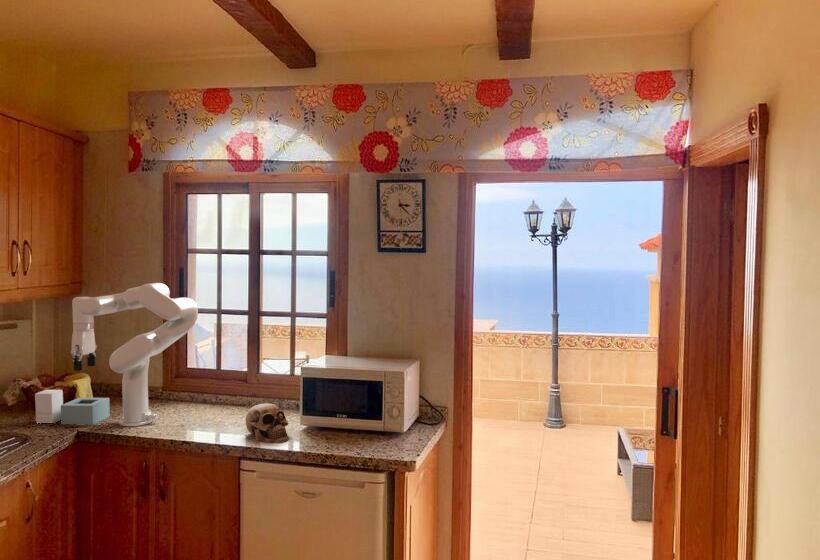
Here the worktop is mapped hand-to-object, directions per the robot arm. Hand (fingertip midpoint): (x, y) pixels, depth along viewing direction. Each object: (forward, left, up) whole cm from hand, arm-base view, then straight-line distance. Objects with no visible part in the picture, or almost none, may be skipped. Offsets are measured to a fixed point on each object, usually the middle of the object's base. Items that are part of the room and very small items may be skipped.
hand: (85, 368), depth 254 cm
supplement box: (+14, +2, -22) cm, 26 cm away
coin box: (0, 0, -22) cm, 22 cm away
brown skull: (-81, +19, -22) cm, 86 cm away
